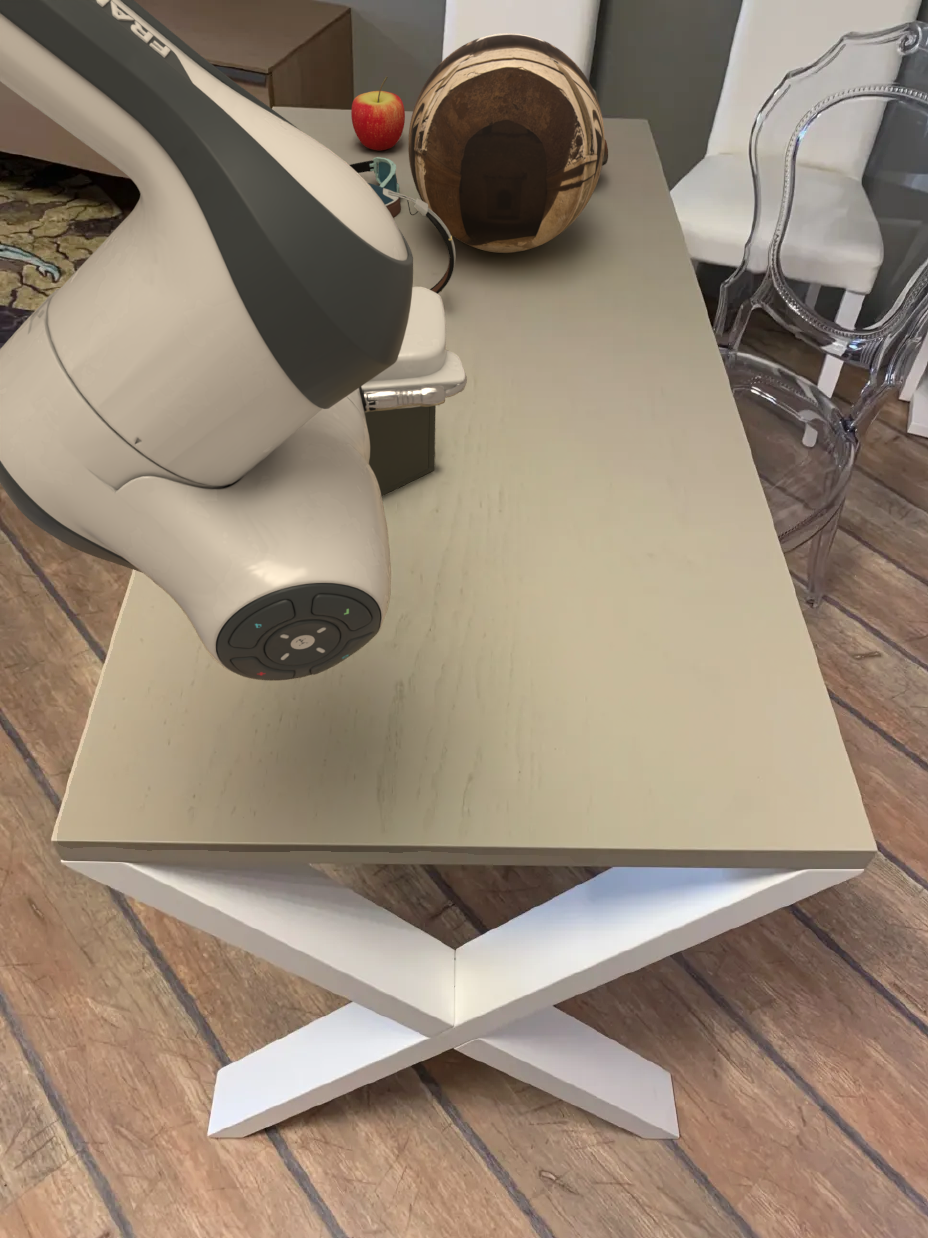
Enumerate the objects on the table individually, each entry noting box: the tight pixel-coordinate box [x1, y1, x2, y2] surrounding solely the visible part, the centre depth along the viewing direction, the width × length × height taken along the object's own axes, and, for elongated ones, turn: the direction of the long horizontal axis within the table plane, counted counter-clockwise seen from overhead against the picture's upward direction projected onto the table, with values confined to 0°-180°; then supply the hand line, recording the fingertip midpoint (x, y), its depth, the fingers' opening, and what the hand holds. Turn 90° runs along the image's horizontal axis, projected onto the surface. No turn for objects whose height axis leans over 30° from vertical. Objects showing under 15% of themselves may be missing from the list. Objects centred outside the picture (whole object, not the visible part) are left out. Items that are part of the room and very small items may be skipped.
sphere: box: [407, 32, 606, 254], centre depth 121 cm, size 25×25×25 cm
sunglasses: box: [349, 156, 400, 194], centre depth 135 cm, size 14×15×5 cm
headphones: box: [367, 182, 456, 294], centre depth 112 cm, size 6×15×22 cm
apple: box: [350, 76, 406, 152], centre depth 146 cm, size 8×8×10 cm
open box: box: [364, 405, 437, 497], centre depth 93 cm, size 15×15×11 cm
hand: (264, 281), depth 58 cm, fingers open, 8 cm apart
